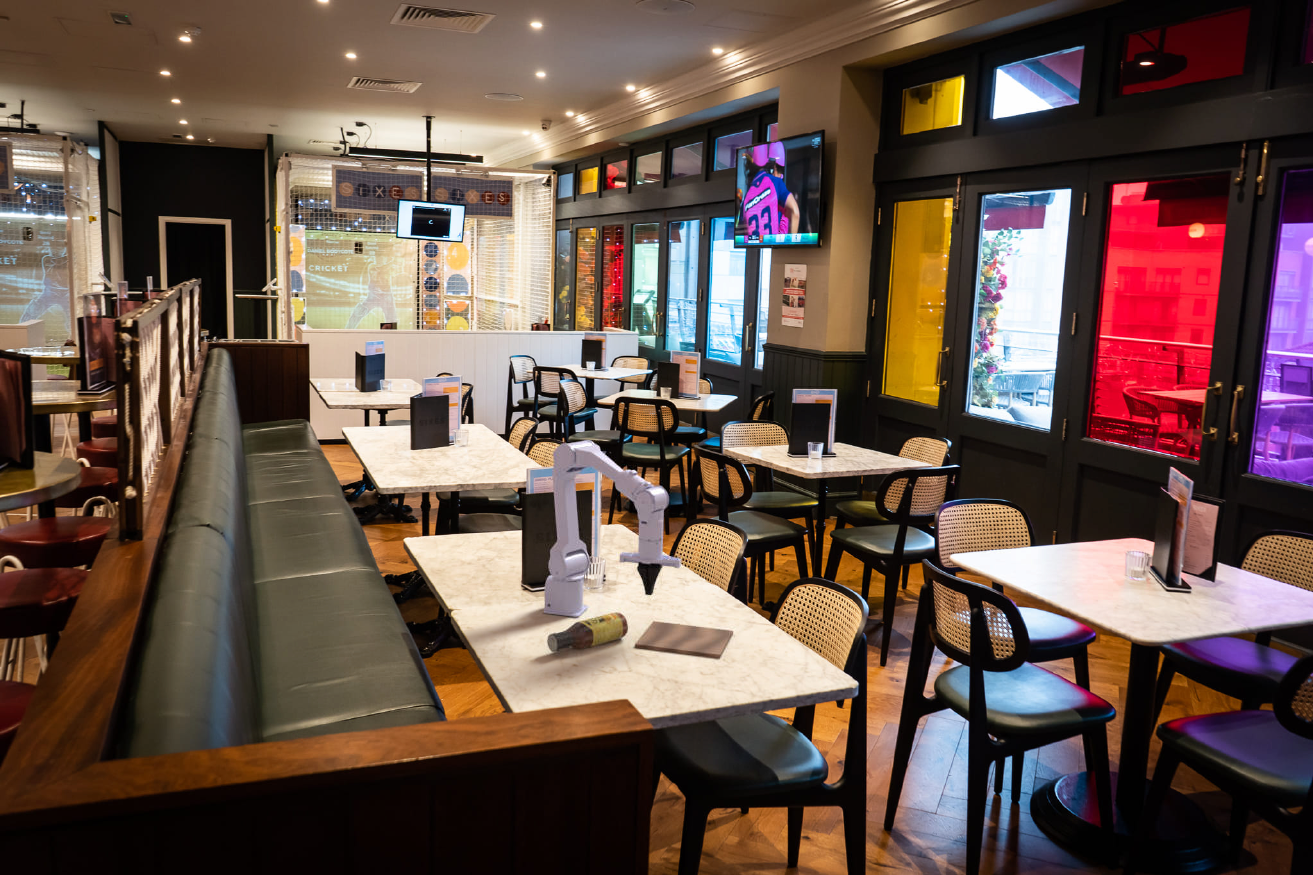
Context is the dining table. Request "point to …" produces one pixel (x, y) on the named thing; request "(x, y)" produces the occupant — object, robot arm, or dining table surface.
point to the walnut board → (685, 639)
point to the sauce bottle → (590, 632)
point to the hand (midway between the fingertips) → (649, 593)
